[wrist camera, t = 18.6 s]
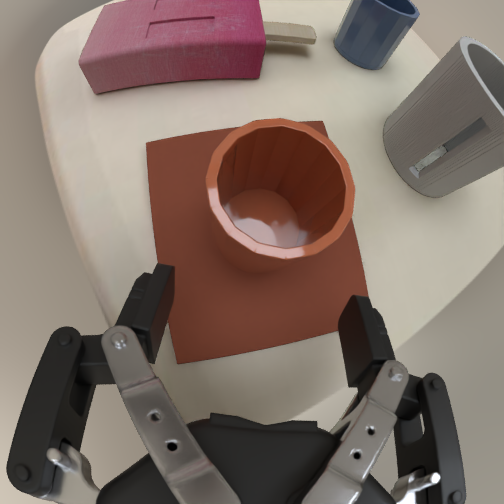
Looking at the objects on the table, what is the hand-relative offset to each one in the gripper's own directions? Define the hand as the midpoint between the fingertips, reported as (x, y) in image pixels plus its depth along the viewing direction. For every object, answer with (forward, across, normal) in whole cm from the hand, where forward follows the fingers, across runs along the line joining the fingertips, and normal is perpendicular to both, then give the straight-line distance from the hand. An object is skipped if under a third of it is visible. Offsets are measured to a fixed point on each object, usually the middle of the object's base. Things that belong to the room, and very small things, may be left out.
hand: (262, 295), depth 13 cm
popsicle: (+20, +8, -10) cm, 23 cm away
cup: (+15, -14, -6) cm, 22 cm away
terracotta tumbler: (+8, 0, +1) cm, 8 cm away
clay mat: (+8, 0, +2) cm, 8 cm away
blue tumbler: (+24, -8, -14) cm, 28 cm away
